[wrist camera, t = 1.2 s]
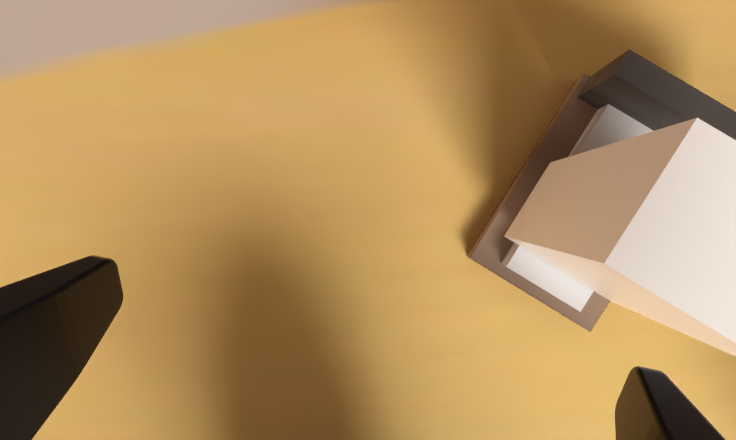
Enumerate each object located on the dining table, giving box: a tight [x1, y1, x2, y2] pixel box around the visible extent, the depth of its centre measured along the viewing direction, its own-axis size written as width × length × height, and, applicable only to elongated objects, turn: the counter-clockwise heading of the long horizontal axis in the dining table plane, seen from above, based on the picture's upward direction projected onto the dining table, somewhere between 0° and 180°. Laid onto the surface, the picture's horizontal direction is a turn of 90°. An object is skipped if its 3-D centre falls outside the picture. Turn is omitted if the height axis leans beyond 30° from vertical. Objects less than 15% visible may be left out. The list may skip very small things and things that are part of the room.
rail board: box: [467, 50, 736, 332], centre depth 22 cm, size 9×6×5 cm, turn 149°
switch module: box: [504, 118, 736, 356], centre depth 17 cm, size 4×6×11 cm, turn 59°
